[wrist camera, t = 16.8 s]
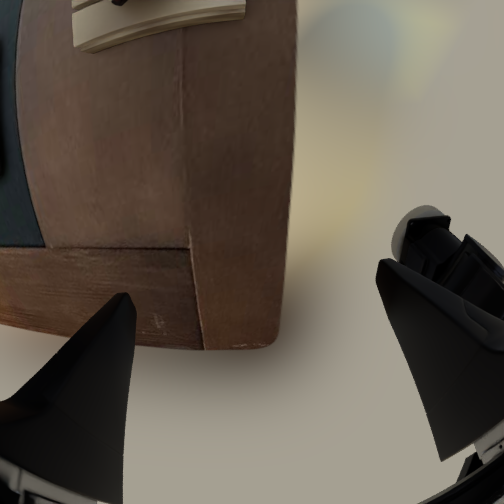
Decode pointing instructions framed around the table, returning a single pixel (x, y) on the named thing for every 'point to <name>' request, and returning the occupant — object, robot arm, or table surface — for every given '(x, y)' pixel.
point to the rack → (143, 19)
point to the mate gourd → (118, 2)
